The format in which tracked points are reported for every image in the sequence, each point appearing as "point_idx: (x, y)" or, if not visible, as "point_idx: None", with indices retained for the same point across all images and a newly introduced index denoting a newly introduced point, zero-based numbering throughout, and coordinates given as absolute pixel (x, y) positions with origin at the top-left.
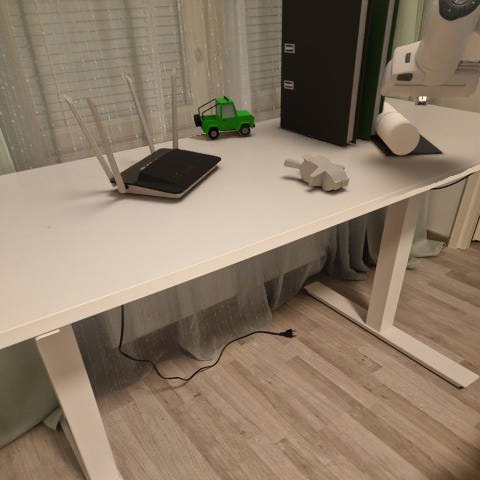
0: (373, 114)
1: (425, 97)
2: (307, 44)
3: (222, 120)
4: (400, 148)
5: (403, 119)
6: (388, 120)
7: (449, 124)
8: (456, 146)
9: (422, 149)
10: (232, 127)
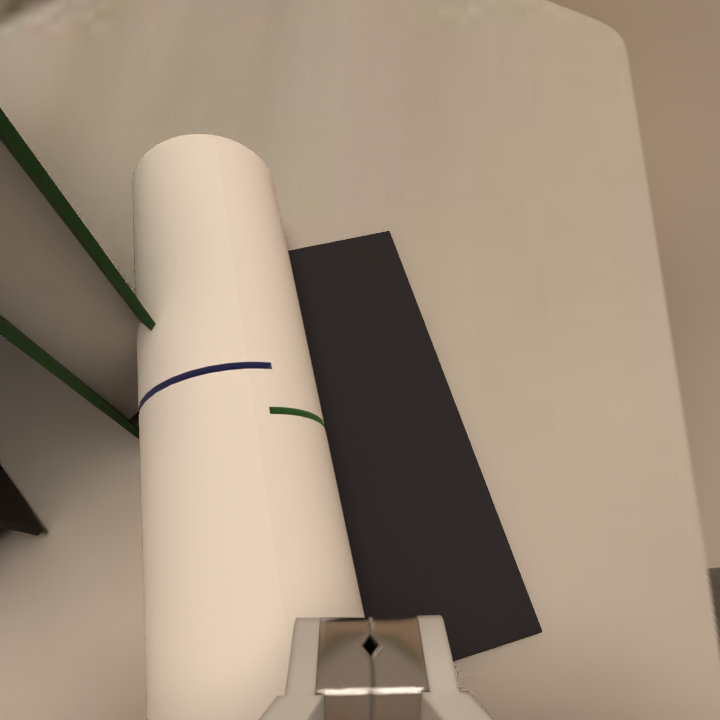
0: (75, 387)
1: (408, 718)
2: None
3: None
4: None
5: (251, 611)
6: (156, 531)
7: (543, 150)
8: (602, 468)
9: (427, 591)
10: None
